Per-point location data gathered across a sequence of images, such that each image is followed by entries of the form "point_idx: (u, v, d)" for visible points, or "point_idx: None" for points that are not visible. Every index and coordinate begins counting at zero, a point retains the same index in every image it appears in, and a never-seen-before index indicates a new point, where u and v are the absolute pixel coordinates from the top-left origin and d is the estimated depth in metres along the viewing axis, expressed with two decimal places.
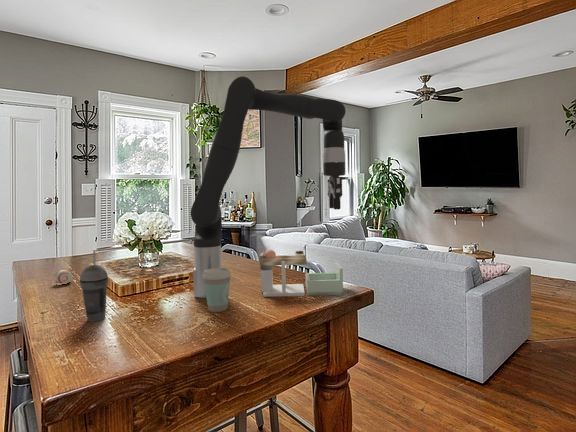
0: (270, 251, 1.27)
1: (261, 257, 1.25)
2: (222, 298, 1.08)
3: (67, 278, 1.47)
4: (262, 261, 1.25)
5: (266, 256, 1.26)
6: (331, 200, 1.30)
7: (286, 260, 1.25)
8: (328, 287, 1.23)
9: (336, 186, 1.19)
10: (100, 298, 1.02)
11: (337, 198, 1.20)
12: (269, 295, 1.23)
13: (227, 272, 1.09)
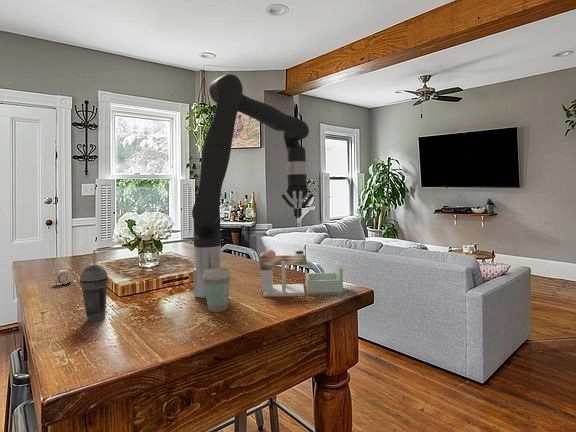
0: (270, 251, 1.27)
1: (261, 257, 1.25)
2: (222, 298, 1.08)
3: (67, 278, 1.47)
4: (262, 261, 1.25)
5: (266, 256, 1.26)
6: None
7: (286, 260, 1.25)
8: (328, 287, 1.23)
9: (309, 200, 1.42)
10: (100, 298, 1.02)
11: (301, 208, 1.43)
12: (269, 295, 1.23)
13: (227, 272, 1.09)
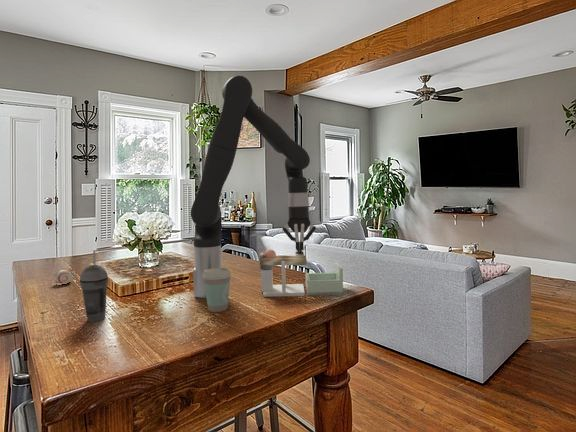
0: (270, 251, 1.27)
1: (261, 256, 1.25)
2: (222, 298, 1.08)
3: (67, 278, 1.47)
4: (262, 261, 1.25)
5: (266, 256, 1.26)
6: None
7: (286, 260, 1.25)
8: (328, 287, 1.23)
9: None
10: (100, 298, 1.02)
11: (303, 241, 1.35)
12: (269, 295, 1.23)
13: (227, 272, 1.09)
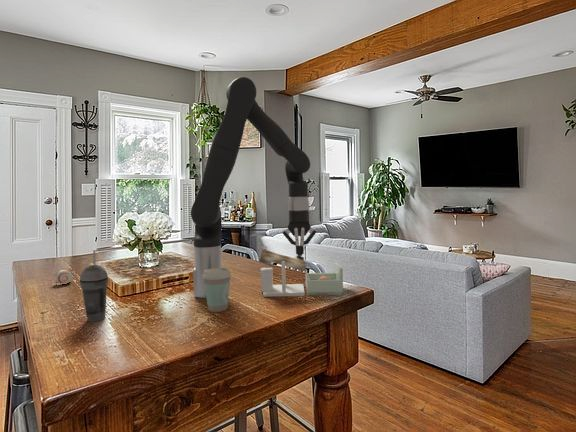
0: None
1: (264, 250, 1.25)
2: (222, 298, 1.08)
3: (67, 278, 1.47)
4: (263, 255, 1.25)
5: None
6: None
7: (286, 261, 1.25)
8: (328, 287, 1.23)
9: None
10: (100, 298, 1.02)
11: (303, 245, 1.35)
12: (269, 295, 1.23)
13: (227, 272, 1.09)
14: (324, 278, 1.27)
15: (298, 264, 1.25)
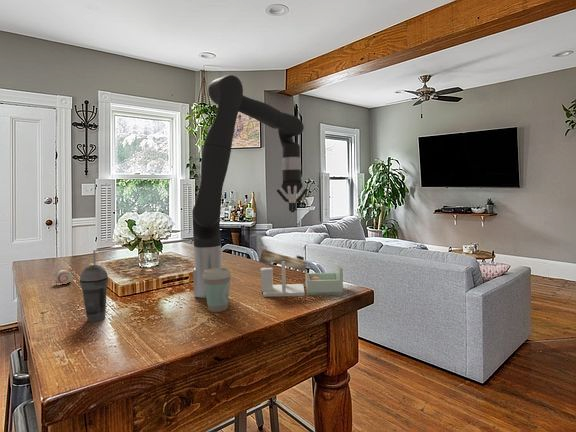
0: None
1: (264, 250, 1.25)
2: (222, 298, 1.08)
3: (67, 278, 1.47)
4: (263, 255, 1.25)
5: None
6: (292, 205, 1.47)
7: (286, 261, 1.25)
8: (328, 287, 1.23)
9: (303, 195, 1.46)
10: (100, 298, 1.02)
11: None
12: (269, 295, 1.23)
13: (227, 272, 1.09)
14: None
15: (298, 264, 1.25)
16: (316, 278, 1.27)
